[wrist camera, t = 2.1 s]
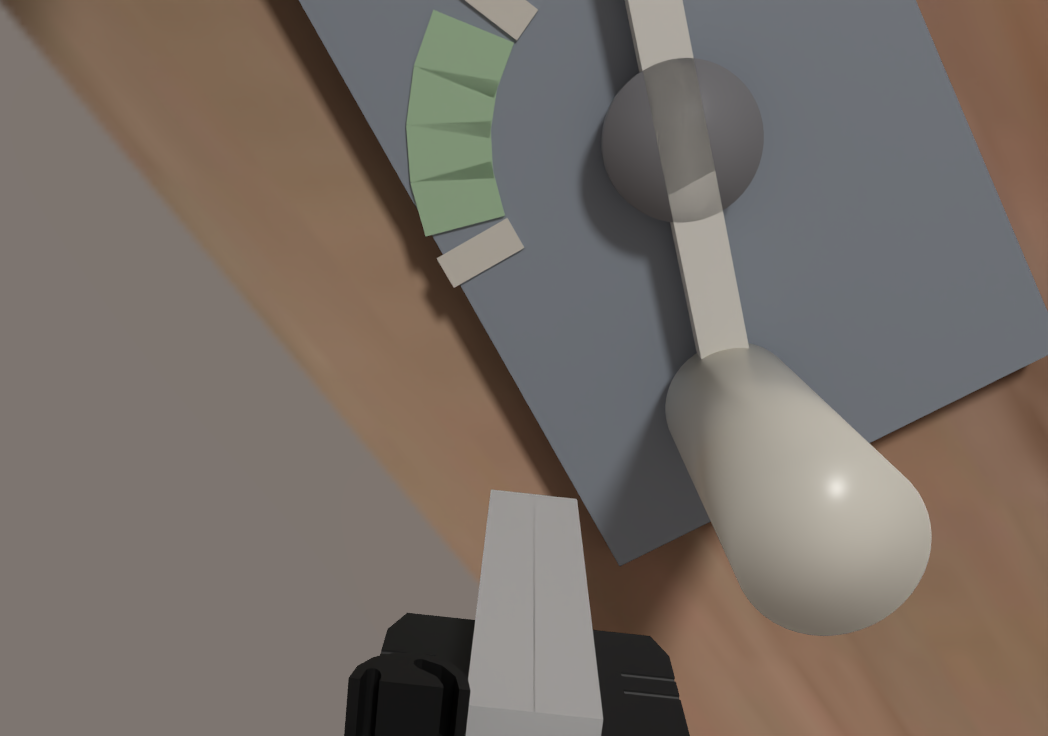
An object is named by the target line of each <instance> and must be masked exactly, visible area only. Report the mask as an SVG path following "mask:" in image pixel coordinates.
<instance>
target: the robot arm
mask: <svg viewBox="0 0 1048 736" xmlns="http://www.w3.org/2000/svg"><path fill="white" fill-rule="evenodd" d="M674 679H675V677H674V673H673V669H672V666H671V662H670V658H669V656H668V655H667V654H666V652H665V651H664V650H663V649H662V648H661V647H660V646H659V645H658V644H657V643H656V642H655V641H654V640H653V639H652V638H651V637H650V636H644V635H635V634H625V633H616V632H606V631H597V630H593V629H592V620H591V612H590V604H589V595H588V587H587V578H586V570H585V562H584V553H583V545H582V537H581V528H580V520H579V511H578V503H577V499H573V498H563V497H554V496H545V495H536V494H527V493H517V492H508V491H499V490H491V494H490V503H489V511H488V519H487V527H486V536H485V544H484V552H483V560H482V569H481V577H480V585H479V594H478V602H477V610H476V619H475V620H468V619H460V618H450V617H440V616H431V615H422V614H413V613H407V614H406V615H404V616H403V617H402V618H401V619H400V620H398V621H397V622H396V623H395V624H393V625H392V626H391V627H390V628H388V630H387V634H386V637H385V640H384V644H383V647H382V651H381V654H380V656H377V657H373V658H371V659H369V660H367V661H366V662H364V663H362V664H360V665H358V666H357V667H356V669H355V670H354V671H353V673H352V674H351V676H350V677H349V683H348V696H347V708H346V721H345V734H344V736H690V735H689V731H688V727H687V723H686V719H685V716H684V712H683V708H682V704H681V700H679V693H678V689H677V685H676V682H674Z"/></svg>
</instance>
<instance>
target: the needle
mask: <svg viewBox="0 0 1048 736" xmlns="http://www.w3.org/2000/svg"><path fill="white" fill-rule="evenodd" d="M625 5H626V10H627V15H628V20H629V25H630V30H631V34H632V39H633V44H634V49H635V54H636V59H637V64H638V69H639V73H638V74H636V75H635V76H634V77H632V78H631V79H630V80H629V81H628V82H627V83H626V84H625V85H624V86H623V87H622V88H621V89H620V90H619V92H618V93H617V94H616V96H615V97H614V99H613V101H612V102H611V104H610V106H609V108H608V111H607V113H606V116H605V119H604V123H603V127H602V134H601V152H602V159H603V163H604V166H605V170H606V172H607V175H608V177H609V179H610V181H611V183H612V184H613V186H614V187H615V189H616V190H617V191H618V193H619V194H620V195H621V196H622V197H623V198H624V199H625V200H626V201H627V202H628V203H629V204H630V205H632V206H633V207H635V208H636V209H637V210H639V211H640V212H642V213H644V214H646V215H648V216H650V217H653V218H655V219H658V220H662V221H667V222H670V225H671V229H672V234H673V239H674V244H675V249H676V254H677V259H678V264H679V268H680V273H681V278H682V283H683V288H684V293H685V298H686V303H687V307H688V312H689V317H690V322H691V327H692V332H693V337H694V342H695V346H696V351H697V353H696V354H694V355H693V356H692V357H691V358H689V359H688V360H687V361H686V362H685V363H684V364H683V365H682V366H681V367H680V369H679V370H678V371H677V373H676V374H675V376H674V378H673V379H672V381H671V384H670V386H669V389H668V393H667V396H666V404H665V414H666V421H667V425H668V428H669V431H670V433H671V435H672V437H673V440H674V442H675V444H676V446H677V448H678V451H679V453H680V455H681V457H682V459H683V462H684V464H685V466H686V468H687V470H688V473H689V475H690V477H691V479H692V481H693V483H694V486H695V488H696V490H697V492H698V494H699V497H700V499H701V501H702V503H703V505H704V508H705V510H706V512H707V514H708V516H709V519H710V521H711V523H712V525H713V527H714V530H715V532H716V534H717V536H718V538H719V541H720V543H721V545H722V547H723V549H724V552H725V554H726V556H727V558H728V560H729V562H730V565H731V567H732V569H733V571H734V573H735V576H736V578H737V580H738V582H739V584H740V587H741V589H742V591H743V592H744V594H745V595H746V597H747V599H748V600H749V601H750V602H751V603H752V605H753V606H754V607H755V608H756V609H757V610H758V611H759V612H760V613H762V614H763V615H764V616H765V617H766V618H768V619H769V620H771V621H772V622H774V623H776V624H778V625H780V626H782V627H784V628H786V629H789V630H792V631H795V632H798V633H803V634H808V635H818V636H832V635H841V634H847V633H851V632H854V631H858V630H861V629H864V628H866V627H869V626H871V625H873V624H875V623H877V622H879V621H881V620H882V619H884V618H885V617H887V616H888V615H890V614H891V613H892V612H894V611H895V610H896V609H897V608H898V607H899V606H901V605H902V604H903V603H904V602H905V601H906V599H907V598H908V597H909V596H910V595H911V594H912V592H913V591H914V589H915V588H916V586H917V585H918V583H919V581H920V579H921V578H922V576H923V574H924V571H925V569H926V566H927V563H928V560H929V555H930V550H931V537H932V536H931V524H930V520H929V515H928V512H927V509H926V507H925V504H924V502H923V500H922V498H921V496H920V495H919V493H918V491H917V490H916V489H915V487H914V486H913V485H912V484H911V482H910V481H909V480H908V479H907V478H905V477H904V476H903V475H902V474H901V473H900V472H899V471H898V470H897V469H896V468H895V467H894V466H893V465H892V464H891V463H890V462H889V461H887V460H886V459H885V458H884V457H883V456H882V455H881V454H880V453H879V452H878V451H877V450H876V449H875V448H874V447H873V446H872V445H870V444H869V443H868V442H867V441H866V440H865V439H864V438H863V437H862V436H861V435H860V434H859V433H858V432H857V431H856V430H855V429H854V428H852V427H851V426H850V425H849V424H848V423H847V422H846V421H845V420H844V419H843V418H842V417H841V416H840V415H839V414H838V413H837V412H835V411H834V410H833V409H832V408H831V407H830V406H829V405H828V404H827V403H826V402H825V401H824V400H823V399H822V398H821V397H820V396H818V395H817V394H816V393H815V392H814V391H813V390H812V389H811V388H810V387H809V386H808V385H807V384H806V383H805V382H804V381H803V380H801V379H800V378H799V377H798V376H797V375H796V374H795V373H794V372H793V371H792V370H791V369H790V368H789V367H788V366H787V365H786V364H784V363H783V362H782V361H781V360H780V359H779V358H778V357H777V356H776V355H774V354H773V353H772V352H770V351H768V350H766V349H765V348H763V347H760V346H757V345H755V344H750V343H748V339H747V334H746V329H745V324H744V318H743V313H742V308H741V303H740V297H739V292H738V287H737V282H736V277H735V271H734V266H733V261H732V256H731V250H730V245H729V240H728V235H727V230H726V224H725V219H724V214H723V210H724V209H726V208H727V207H729V206H730V205H731V204H732V203H734V202H735V201H736V200H737V199H738V198H739V197H740V196H741V195H742V194H743V193H744V191H745V190H746V189H747V187H748V186H749V185H750V183H751V181H752V180H753V178H754V176H755V174H756V172H757V169H758V167H759V164H760V160H761V157H762V152H763V145H764V130H763V122H762V118H761V113H760V110H759V108H758V105H757V103H756V101H755V99H754V97H753V95H752V93H751V92H750V91H749V89H748V88H747V87H746V85H745V84H744V83H743V82H742V81H741V80H740V79H739V78H738V77H737V76H736V75H734V74H733V73H732V72H730V71H729V70H727V69H726V68H724V67H722V66H720V65H718V64H716V63H713V62H710V61H707V60H702V59H697V58H694V57H693V52H692V47H691V42H690V36H689V31H688V26H687V21H686V16H685V10H684V5H683V0H625Z"/></svg>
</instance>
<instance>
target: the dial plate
mask: <svg viewBox="0 0 1048 736" xmlns="http://www.w3.org/2000/svg"><path fill="white" fill-rule="evenodd" d="M299 2H300V3H301V5H302V7H303V9H304V10H305V12H306V14H307V16H308V18H309V19H310V21H311V23H312V25H313V26H314V28H315V30H316V32H317V33H318V35H319V37H320V39H321V40H322V42H323V44H324V46H325V47H326V49H327V51H328V53H329V55H330V56H331V58H332V60H333V62H334V63H335V65H336V67H337V69H338V70H339V72H340V74H341V76H342V77H343V79H344V81H345V83H346V85H347V86H348V88H349V90H350V92H351V93H352V95H353V97H354V99H355V100H356V102H357V104H358V106H359V107H360V109H361V111H362V113H363V115H364V116H365V118H366V120H367V122H368V123H369V125H370V127H371V129H372V130H373V132H374V134H375V136H376V137H377V139H378V141H379V143H380V145H381V146H382V148H383V150H384V152H385V153H386V155H387V157H388V159H389V160H390V162H391V164H392V166H393V167H394V169H395V171H396V173H397V174H398V176H399V178H400V180H401V182H402V183H403V185H404V187H405V189H406V190H407V192H408V194H409V196H410V197H411V199H412V201H413V203H414V204H415V206H416V208H417V210H418V212H419V215H420V219H421V222H422V226H423V229H424V233H425V236H430V235H432V236H433V238H434V240H435V242H436V243H437V245H438V247H439V249H440V250H441V252H442V254H443V255H442V256H440V257H438V258H437V260H438V262H439V264H440V265H441V267H442V269H443V270H444V272H445V274H446V275H447V277H448V279H449V280H450V282H451V284H452V286H453V287H454V288H455V287H456V286H458V285H460V286H461V287H462V289H463V291H464V293H465V294H466V296H467V298H468V300H469V301H470V303H471V305H472V307H473V309H474V310H475V312H476V314H477V316H478V317H479V319H480V321H481V323H482V324H483V326H484V328H485V330H486V331H487V333H488V335H489V337H490V339H491V340H492V342H493V344H494V346H495V347H496V349H497V351H498V353H499V354H500V356H501V358H502V360H503V361H504V363H505V365H506V367H507V369H508V370H509V372H510V374H511V376H512V377H513V379H514V381H515V383H516V384H517V386H518V388H519V390H520V391H521V393H522V395H523V397H524V399H525V400H526V402H527V404H528V406H529V407H530V409H531V411H532V413H533V414H534V416H535V418H536V420H537V421H538V423H539V425H540V427H541V428H542V430H543V432H544V434H545V436H546V437H547V439H548V441H549V443H550V444H551V446H552V448H553V450H554V451H555V453H556V455H557V457H558V458H559V460H560V462H561V464H562V466H563V467H564V469H565V471H566V473H567V474H568V476H569V478H570V480H571V481H572V483H573V485H574V487H575V488H576V490H577V492H578V494H579V496H580V497H581V499H582V501H583V503H584V504H585V506H586V508H587V510H588V511H589V513H590V515H591V517H592V518H593V520H594V522H595V524H596V526H597V527H598V529H599V531H600V533H601V534H602V536H603V538H604V540H605V541H606V543H607V545H608V547H609V548H610V550H611V552H612V554H613V555H614V557H615V559H616V561H617V563H618V564H619V566H621V565H623V564H625V563H628V562H630V561H632V560H634V559H636V558H638V557H640V556H642V555H644V554H646V553H648V552H650V551H652V550H654V549H656V548H658V547H660V546H662V545H664V544H666V543H668V542H670V541H672V540H674V539H676V538H678V537H680V536H682V535H684V534H686V533H688V532H690V531H692V530H694V529H696V528H698V527H700V526H702V525H704V524H707V523H709V522H711V521H710V519H709V516H708V514H707V512H706V510H705V508H704V505H703V503H702V501H701V499H700V497H699V494H698V492H697V490H696V488H695V486H694V483H693V481H692V479H691V477H690V475H689V473H688V470H687V468H686V466H685V464H684V462H683V459H682V457H681V455H680V453H679V451H678V448H677V446H676V444H675V442H674V440H673V437H672V435H671V433H670V431H669V428H668V425H667V421H666V414H665V404H666V396H667V393H668V389H669V386H670V384H671V381H672V379H673V378H674V376H675V374H676V373H677V371H678V370H679V369H680V367H681V366H682V365H683V364H684V363H685V362H686V361H687V360H688V359H689V358H691V357H692V356H693V355H694V354H696V353H697V351H696V346H695V342H694V337H693V332H692V327H691V322H690V317H689V312H688V307H687V303H686V298H685V293H684V288H683V283H682V278H681V273H680V268H679V264H678V259H677V254H676V249H675V244H674V239H673V234H672V229H671V225H670V222H667V221H662V220H658V219H655V218H653V217H650V216H648V215H646V214H644V213H642V212H640V211H639V210H637V209H636V208H635V207H633V206H632V205H630V204H629V203H628V202H627V201H626V200H625V199H624V198H623V197H622V196H621V195H620V194H619V193H618V191H617V190H616V189H615V187H614V186H613V184H612V183H611V181H610V179H609V177H608V175H607V172H606V170H605V166H604V163H603V159H602V152H601V134H602V127H603V123H604V119H605V116H606V113H607V111H608V108H609V106H610V104H611V102H612V101H613V99H614V97H615V96H616V94H617V93H618V92H619V90H620V89H621V88H622V87H623V86H624V85H625V84H626V83H627V82H628V81H629V80H630V79H631V78H632V77H634V76H635V75H636V74H638V73H639V69H638V64H637V59H636V54H635V49H634V44H633V39H632V34H631V30H630V25H629V20H628V15H627V10H626V5H625V0H299ZM683 5H684V10H685V16H686V21H687V26H688V31H689V36H690V42H691V47H692V52H693V57H694V58H697V59H702V60H707V61H710V62H713V63H716V64H718V65H720V66H722V67H724V68H726V69H727V70H729V71H730V72H732V73H733V74H734V75H736V76H737V77H738V78H739V79H740V80H741V81H742V82H743V83H744V84H745V85H746V87H747V88H748V89H749V91H750V92H751V93H752V95H753V97H754V99H755V101H756V103H757V105H758V108H759V110H760V113H761V118H762V122H763V130H764V145H763V152H762V157H761V160H760V164H759V167H758V169H757V172H756V174H755V176H754V178H753V180H752V181H751V183H750V185H749V186H748V187H747V189H746V190H745V191H744V193H743V194H742V195H741V196H740V197H739V198H738V199H737V200H736V201H735V202H734V203H732V204H731V205H730V206H729V207H727V208H726V209H724V210H723V214H724V219H725V224H726V230H727V235H728V240H729V245H730V250H731V256H732V261H733V266H734V271H735V277H736V282H737V287H738V292H739V297H740V303H741V308H742V313H743V318H744V324H745V329H746V334H747V339H748V343H750V344H755V345H757V346H760V347H763V348H765V349H766V350H768V351H770V352H772V353H773V354H774V355H776V356H777V357H778V358H779V359H780V360H781V361H782V362H783V363H784V364H786V365H787V366H788V367H789V368H790V369H791V370H792V371H793V372H794V373H795V374H796V375H797V376H798V377H799V378H800V379H801V380H803V381H804V382H805V383H806V384H807V385H808V386H809V387H810V388H811V389H812V390H813V391H814V392H815V393H816V394H817V395H818V396H820V397H821V398H822V399H823V400H824V401H825V402H826V403H827V404H828V405H829V406H830V407H831V408H832V409H833V410H834V411H835V412H837V413H838V414H839V415H840V416H841V417H842V418H843V419H844V420H845V421H846V422H847V423H848V424H849V425H850V426H851V427H852V428H854V429H855V430H856V431H857V432H858V433H859V434H860V435H861V436H862V437H863V438H864V439H865V440H866V441H867V442H868V443H871V442H873V441H875V440H877V439H879V438H881V437H883V436H885V435H887V434H889V433H891V432H893V431H895V430H897V429H899V428H901V427H903V426H905V425H907V424H909V423H911V422H913V421H915V420H917V419H919V418H921V417H923V416H925V415H927V414H929V413H931V412H933V411H935V410H937V409H939V408H941V407H944V406H946V405H948V404H950V403H952V402H954V401H956V400H958V399H960V398H962V397H964V396H966V395H968V394H970V393H972V392H974V391H976V390H978V389H980V388H982V387H984V386H986V385H988V384H990V383H992V382H994V381H996V380H998V379H1000V378H1002V377H1004V376H1006V375H1008V374H1010V373H1012V372H1014V371H1016V370H1018V369H1020V368H1023V367H1025V366H1027V365H1029V364H1031V363H1033V362H1035V361H1037V360H1039V359H1041V358H1043V357H1045V356H1047V355H1048V312H1047V309H1046V307H1045V305H1044V302H1043V300H1042V297H1041V295H1040V293H1039V290H1038V288H1037V286H1036V283H1035V281H1034V279H1033V276H1032V274H1031V272H1030V269H1029V267H1028V264H1027V262H1026V260H1025V257H1024V255H1023V253H1022V250H1021V248H1020V246H1019V243H1018V241H1017V238H1016V236H1015V234H1014V231H1013V229H1012V227H1011V224H1010V222H1009V220H1008V217H1007V215H1006V212H1005V210H1004V208H1003V205H1002V203H1001V201H1000V198H999V196H998V194H997V191H996V189H995V187H994V184H993V182H992V179H991V177H990V175H989V172H988V170H987V168H986V165H985V163H984V161H983V158H982V156H981V153H980V151H979V149H978V146H977V144H976V142H975V139H974V137H973V135H972V132H971V130H970V128H969V125H968V123H967V120H966V118H965V116H964V113H963V111H962V109H961V106H960V104H959V102H958V99H957V97H956V94H955V92H954V90H953V87H952V85H951V83H950V80H949V78H948V76H947V73H946V71H945V68H944V66H943V64H942V61H941V59H940V57H939V54H938V52H937V50H936V47H935V45H934V43H933V40H932V38H931V35H930V33H929V31H928V28H927V26H926V24H925V21H924V19H923V17H922V14H921V12H920V9H919V7H918V5H917V2H916V0H683Z"/></svg>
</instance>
